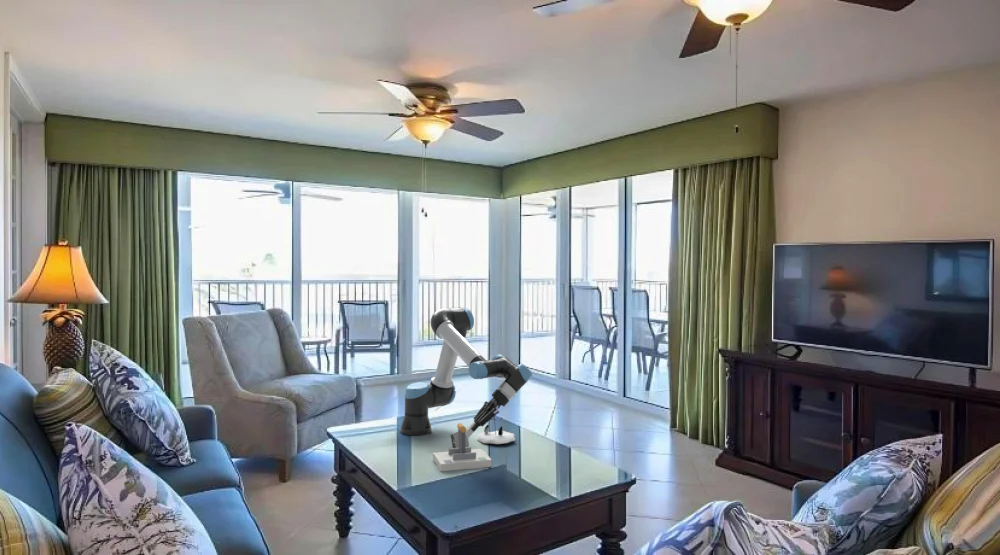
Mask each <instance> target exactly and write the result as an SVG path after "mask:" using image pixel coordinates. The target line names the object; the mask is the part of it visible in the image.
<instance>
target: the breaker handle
mask: <svg viewBox="0 0 1000 555" xmlns="http://www.w3.org/2000/svg"><path fill="white" fill-rule="evenodd" d="M456 427H457V430H458V431H457V432H458V439H459V450H458V452H459V453H466V448H465V432H466V429H467V428H466V427H465V426H464V424H463V423H461V422H460V423H457V425H456Z"/></svg>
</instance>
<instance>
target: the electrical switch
mask: <svg viewBox="0 0 1000 555" xmlns="http://www.w3.org/2000/svg"><path fill="white" fill-rule="evenodd" d="M450 440H451V444H452V445H451V446H452V448H459V439H458V431H455V432H453V433H452V434H450ZM469 443H470V442H469V438H468V437H467V436H466V435H465V447H470V444H469Z"/></svg>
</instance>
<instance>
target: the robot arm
mask: <svg viewBox="0 0 1000 555" xmlns="http://www.w3.org/2000/svg"><path fill="white" fill-rule="evenodd" d="M474 326H475V318H474V314H473V313H472V311H471V309H469V308H468V307H461V306H460V307H459V306H458V307H443V308H438V309H437V310H435V311H434V312H433V314H432V316H431V318H430V327H431V330H432V332H433V333H434V334H435V335H436V337H437V338H439V339H442V340H443V342H442V346H441V350H440V355H439V359H438V363H437V368H436V371H435V376H433V377H431V379H430V383H427V382H422V381H421V382H414V383H411V384H409V385H407V386H406V388H405V390H404V391H405V393H404V415H403V416H404V417H403V418H402V419H403V420H402V422H401V425H400V430H399V431H400V432H401V434H403V435H406V436H407V435H408V436H423V435H427V434H429V433H431V431H432V425H431V422H430V418H429V409H433V408H439V407H445V406H447V405H451V404H452V403H453V401H454V400H455V398H456V394H457V393H456V392H457V391H456V387H455V385H454V382H453V380H452V378H453V375H454V371H455V368H456V364H457V359H458V357H459V358H460V360H462V362H464V363H465V365H466V366H467V367H468V373H469V376H470V377H471V378H472V379H473V380H484V379H487V378H488V379H489V378H494V377H500V376H501V377H503V378H504V379H505V380H504V381H502V382H501V384H500V385H499V386H497V387H498V389H495V390H494V391H493V393H491V396H492V398H491V399H490V400H489V401H487V400H486V401H485V402H484V403H483V405H482V406H481V407H480V408H479V410H478V412H477V413H476V415H474V417H473V422H472V423H471V424H470V425H469V426H468V427H467V428H466V432H465V435H466V436H467V437H468V439H469V438H471V436H472V435H473V434H474V433H475V432H476V430H477V429H479V427H484V426H485V425H487V423H488V422H490V421H491V420H490V419H494V416H495V415H496V416H497V415H498V414H499V413H500V411H499V409H500V407H501V406H502V407H505V406H506V405H507V404H508V403H509V402H510V400H512V399H513V397H515V396H516V394H517V393H518V392H519V390H521V388H523V387H524V386H525V385H526V384H527V383H528V381H529V380H530V378H531V377H532V376H533V373H532V371H531V370H530V369H529V368H528V367H527V366H526V365H525V364H523V363H520V364H518V365H516V364H515V363H514V362H513V361H512V360H510V359H509V358H508V357H507V356H504V355H503V354H496V355H495V356H493V357H492V359H488V360H487V359H486V358H485V357H483V355H482V354H480V352H478V350H477V349H476V348H475V347H474V346H473V345H472V344H471V343H470V342H469V341H468V340H467V339H466V336H467V334H468V332H469V331H471V330H472V329H473V328H474Z"/></svg>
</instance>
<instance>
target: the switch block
mask: <svg viewBox="0 0 1000 555" xmlns="http://www.w3.org/2000/svg"><path fill="white" fill-rule="evenodd" d="M465 448H466V453H459V452H458V450H459V448H453V447H452V448H451V447H450V448H448V449H447V450H448V451H438V452H432V460H433V462H434V464H435V465H436V468H438V469H439V471H440V472H448V471H460V470H470V469H479V468H480V469H482V468H490V467H492V464H493V463H492V461H493V460H492V459H491V457H490V456H489V454H487V453H486V452H485V451H484V450H483V449H482V448H477V449H476V448H475V449H474V448H473V449H472V446H469V447H465Z"/></svg>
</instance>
